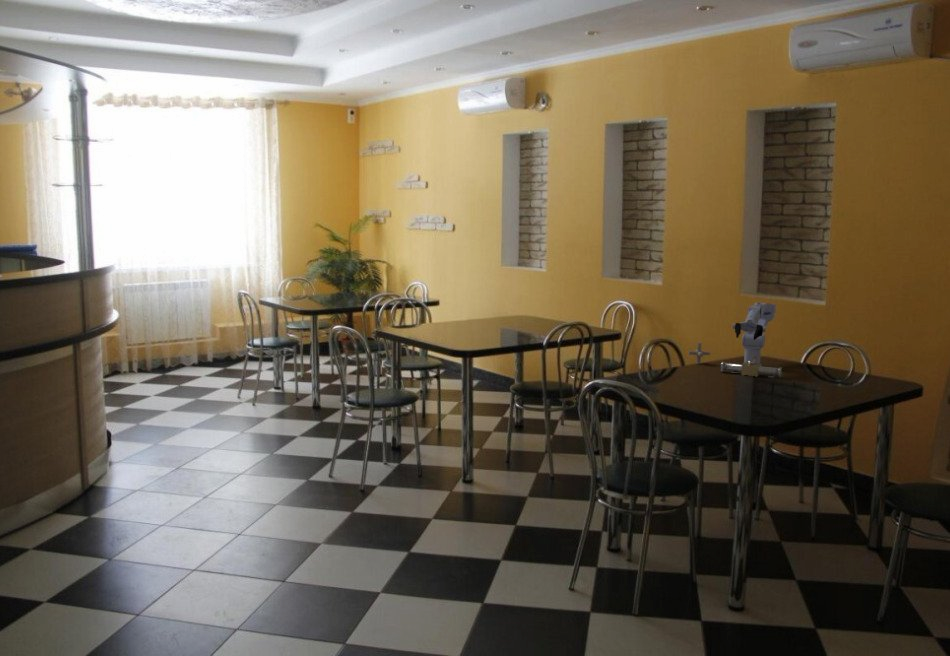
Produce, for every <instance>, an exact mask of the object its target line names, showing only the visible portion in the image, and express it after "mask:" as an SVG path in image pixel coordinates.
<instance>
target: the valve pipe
mask: <svg viewBox="0 0 950 656" xmlns="http://www.w3.org/2000/svg"><path fill="white" fill-rule="evenodd" d="M760 364H761V363H760ZM760 364H758V363H755V364H748V363H747V362H744V361H743V363H741V364H740V363H734V362H733V363H732V362H725V361H721V362H720V371H721V372H724V371H725V372H731V374H732V373H737V372H738V373H741V374H740V375H741V376H744V375H748V376H747V377H753V376H755V378H757V377H758V378H759V376H760V375H765V376H768V378H769V377H771V378H772V379H774V378H775V377H777V378H781V377H782V370H783V369H782V366H781V367H779V366H778V367H773V366H772V367H771V366H763V365H762V366H760ZM738 373H737V374H738ZM759 374H760V375H759ZM758 375H759V376H758Z"/></svg>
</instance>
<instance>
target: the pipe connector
mask: <svg viewBox="0 0 950 656" xmlns="http://www.w3.org/2000/svg"><path fill="white" fill-rule="evenodd" d="M687 354H688V355H689V356H690V355H691V356H692V355H693V356H696V362H695V363H696V364H701V360H702V359H701V358H703V357H704V356H710V355H711V351H706V350H702V342H697V347H696V349H694V350H688V352H687Z"/></svg>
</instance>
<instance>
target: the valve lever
mask: <svg viewBox="0 0 950 656" xmlns="http://www.w3.org/2000/svg"><path fill="white" fill-rule="evenodd" d="M757 360H758V357H753V358H752V360H750V361H748V364H755V361H757Z"/></svg>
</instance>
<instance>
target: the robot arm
mask: <svg viewBox="0 0 950 656" xmlns="http://www.w3.org/2000/svg"><path fill="white" fill-rule="evenodd" d="M776 307H777V306H776V304H775V303H771V302H770V303H769V302H755V303H754V305H750V306H749V305H748V309H747V315H746V318H745V321H742V322H736V323H735V322H734V323H733V324H732V329H733V330H734V331H735V336H736V338H737V339H738V338H739V336H740V335H741V333H742V332H745V333H743V334H742V336H741V345H742V347H743V348H744V358H743V363H744V362H747V363H748V361H750V360H752V358H753V357H758V360H757V361H755V363H758V364H760V366H763V364H762V363H761V355H762V353H761V352H762V350H761V349H763V348H764V347H765V342H766V334H765V333H766V331H767V326H768V323H770V322H771V321H773V319H774V318H775V315H776V310H777V308H776ZM741 331H742V332H741Z"/></svg>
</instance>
